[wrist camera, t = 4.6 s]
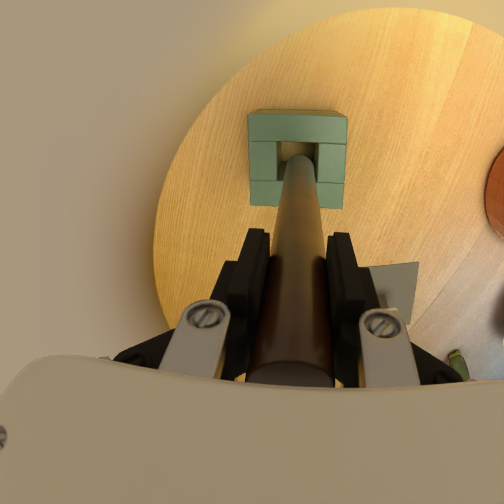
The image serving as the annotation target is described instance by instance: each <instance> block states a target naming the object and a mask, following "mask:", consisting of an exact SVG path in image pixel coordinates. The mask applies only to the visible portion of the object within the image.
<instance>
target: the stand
mask: <svg viewBox="0 0 504 504" xmlns="http://www.w3.org/2000/svg"><path fill="white" fill-rule="evenodd" d="M347 119H348V118H347V117H346V116H344V115H342V114H340V113H338V112H336V111H319V110H292V109H259V110H257V111H254V112H252V113H250V114H248V141H249V142H248V146H249V175H250V205H255V206H279V202H280V197H281V191H282V186H283V180H284V175H285V169H286V164H287V162H282V141H285V142H314V163H312V164H313V168H314V175H315V181H316V187H317V194H318V201H319V208H331V209H342V205H343V194H344V180H345V164H346V146H347V145H346V144H347Z"/></svg>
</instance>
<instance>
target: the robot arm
mask: <svg viewBox="0 0 504 504" xmlns="http://www.w3.org/2000/svg"><path fill="white" fill-rule="evenodd" d="M269 259H270V234H269V233H264V229H257V228H249V230H248V233H247V235H246V238H245V241H244V244H243V247H242V250H241V252H240V255H239V258H238V261H225V263H224V265H223V267H222V270H221V272H220V275H219V277H218V280H217V282H216V284H215V287H214V289H213V292H212V294H211V297H210V299H209V300H200V301H196V302H194V303H192V304H190V305H189V306H188V307H186V308H185V310H184V311H183V313H182V315H181V317H180V320H179V322H178V324H177V326H176V328H174V329H172V330H170V331H167V332H165V333H163V334H161V335H158V336H156V337H154V338H152V339H149V340H147V341H145V342H143V343H140V344H138V345H135V346H133V347H131V348H128V349H127V350H124V351H122V352H121V353H119V354H118V355H117V356H116V357H115V358H114V359H113V360H110V358H109V357H100V358H95V357H88V356H79V355H55V356H47V357H43V358H39V359H36V360H34V361H32V362H31V363H29V364H28V365H26V366H25V367H24V368H23V369H22V370H21V371H20V372H19V373H18V374H17V375H16V377H15V378H14V379H13V380H12V382H11V383H10V384H9V385H8V387H7V388H6V389H5V391H4V392H3V394H2V395H1V396H0V504H504V381H501V380H482V381H477V380H473V379H469V378H468V379H467V380H466V381H463V378H462V377H461V375H460V374H459V373H458V372H457V371H455V370H454V369H453V368H451V367H450V366H448V365H447V364H445V363H443V362H442V361H440V360H439V359H437V358H436V357H434V356H432V355H431V354H429V353H428V352H426V351H425V350H423V349H421V348H420V347H418V346H417V345H415V344H414V343H412V342H410V339H409V336H408V332H407V328H406V325H405V323H404V321H403V319H402V318H401V317H400V316H399V315H397V314H396V313H394V312H392V311H389V310H387V309H381V307H380V304H379V300H378V296H377V293H376V289H375V286H374V282H373V279H372V276H371V272H370V269H369V268H367V267H358V265H357V261H356V257H355V254H354V250H353V246H352V243H351V239H350V235H349V233H343V232H334V234H333V236H328V241H327V251H326V268H327V278H328V289H329V300H330V313H331V327H332V334H333V349H334V368H335V378H336V379H337V380H338V381H339V382H341V387H340V388H323V387H299V386H282V385H269V384H257V383H247V382H237V377H238V376H240V375H241V374H243V373H246V372H247V367H248V363H249V358H250V353H251V348H252V343H253V338H254V333H255V329H256V326H257V321H258V316H259V311H260V306H261V300H262V295H263V290H264V285H265V280H266V274H267V269H268V264H269Z"/></svg>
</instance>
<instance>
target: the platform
mask: <svg viewBox="0 0 504 504" xmlns="http://www.w3.org/2000/svg"><path fill="white" fill-rule="evenodd" d="M418 265H419V262H413V263H403V264H394V265H384V266H373V267H367V268H369V269H370V272H371V276H372V279H373V282H374V286H375V289H376V293H377V296H378V300H379V304H380V307H381V309H387V310H389V311H392V312H394V313H396V314H397V315H399V316H400V317H401V318H402V319H403V321H404V323H405V325H408V324H410V320H411V314H412V309H413V302H414V296H415V289H416V282H417V274H418Z"/></svg>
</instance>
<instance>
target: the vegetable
mask: <svg viewBox="0 0 504 504" xmlns="http://www.w3.org/2000/svg"><path fill="white" fill-rule="evenodd" d="M449 366H450V367H451V368H453V369H454V370H455V371H457V372H458V373H459V374H460V375H461V377H462V378H463V381H466V380H467V379H468V378H469V379H470V377H469V372H468V368H467V365H466V363H465V360H464V358H463V357H462V356H461V355H460V352H459V351H456V352H455V353H453V354H451V355H450V361H449Z"/></svg>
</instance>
